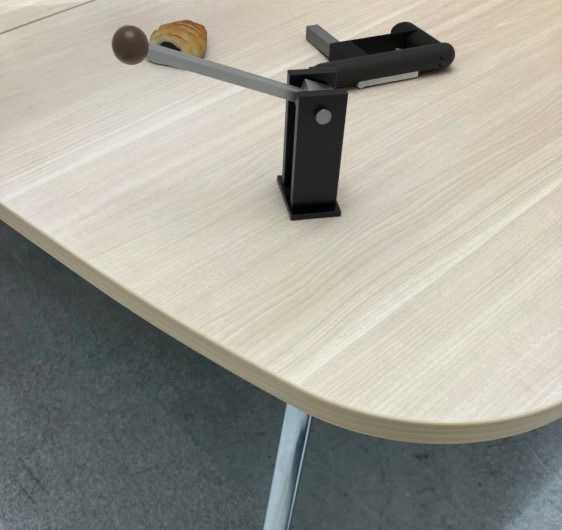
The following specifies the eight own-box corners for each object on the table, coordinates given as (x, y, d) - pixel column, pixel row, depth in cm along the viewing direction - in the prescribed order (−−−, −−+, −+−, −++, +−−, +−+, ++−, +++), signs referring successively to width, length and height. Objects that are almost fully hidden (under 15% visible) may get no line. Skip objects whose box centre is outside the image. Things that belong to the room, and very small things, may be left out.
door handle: (265, 25, 101) (321, 74, 91) (399, 5, 107) (466, 48, 97) (265, 51, 103) (320, 102, 93) (396, 30, 109) (461, 75, 99)
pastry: (171, 32, 104) (170, 2, 101) (219, 41, 103) (219, 11, 100) (143, 63, 98) (140, 32, 95) (194, 72, 97) (193, 42, 94)
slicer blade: (108, 65, 63) (117, 30, 61) (106, 49, 65) (115, 14, 63) (326, 127, 71) (340, 97, 69) (319, 110, 73) (332, 81, 71)
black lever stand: (290, 226, 76) (298, 102, 67) (276, 185, 81) (281, 64, 71) (340, 221, 77) (355, 99, 68) (323, 181, 82) (334, 61, 72)
